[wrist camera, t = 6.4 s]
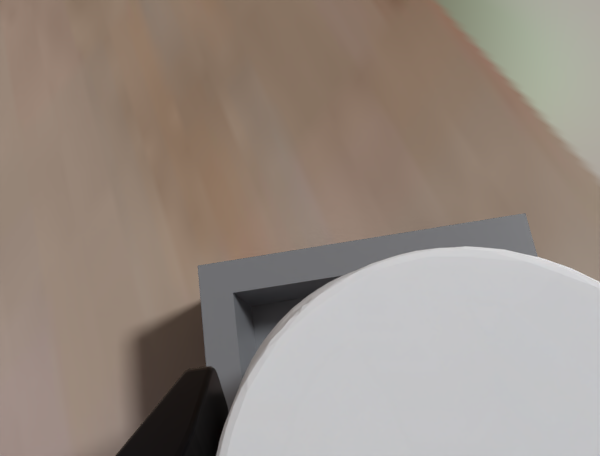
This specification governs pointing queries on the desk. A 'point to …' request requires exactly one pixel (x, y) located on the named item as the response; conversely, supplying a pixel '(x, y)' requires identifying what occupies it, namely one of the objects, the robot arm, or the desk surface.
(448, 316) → the pill bottle
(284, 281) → the bottle holder
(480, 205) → the desk surface
